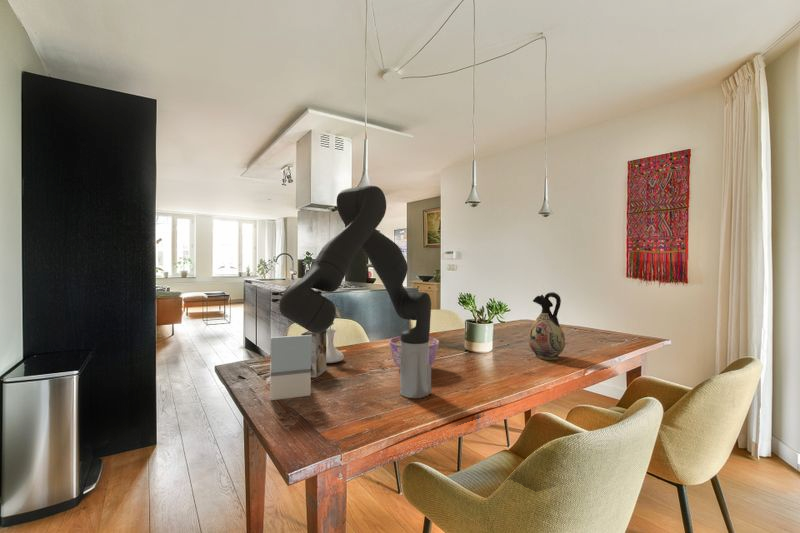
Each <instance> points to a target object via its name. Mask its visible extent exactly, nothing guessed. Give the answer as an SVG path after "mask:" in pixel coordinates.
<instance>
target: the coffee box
mask: <svg viewBox="0 0 800 533" xmlns="http://www.w3.org/2000/svg"><path fill="white" fill-rule="evenodd" d="M301 335H312V345H311V378H318V377H319V376H321V375H322V374H323V373H324V372H326V371H327V363H326V348H327V333H326V330H325V331H323V332H321V333H313V332H310V331H308V330H306V331H305V332H303V333H301Z"/></svg>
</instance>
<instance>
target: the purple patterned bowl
mask: <svg viewBox="0 0 800 533" xmlns="http://www.w3.org/2000/svg"><path fill="white" fill-rule="evenodd" d="M388 340H389V341H388V342H389V346H390V352H391V356H392V360H393V362H394V364H395V365H396V367H398V368H400V360H401V335H399V336H395V337H392V338H390V339H388ZM439 344H440V340H439V339H437V338H434V337H431V336H429V364H430V365H431V367H432V366H433V364H434V362H435V361H436V357H437V353H438V350H439V347H440V346H439Z"/></svg>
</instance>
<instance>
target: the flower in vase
mask: <svg viewBox="0 0 800 533" xmlns="http://www.w3.org/2000/svg"><path fill="white" fill-rule="evenodd" d="M335 308H336V316H337V317H338V318H339V319H342V316H341V312H339V309H338V307H336V306H335ZM334 324H335V323H334V322H333V323H332V325H331V326H333V325H334ZM331 326H330V327H329V328H328V329H327V330H326V337H327V345H326V364H333V363H339V362H341V361H343V360H344V358H345V356H344V354H343V353H342V352H341V351H340V350H339V349H337V348H336V347H335V345H334V344H335V343H334V337H335V334H336V331H337V330H338V329H337V328H335V327H333V328H331Z"/></svg>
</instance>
